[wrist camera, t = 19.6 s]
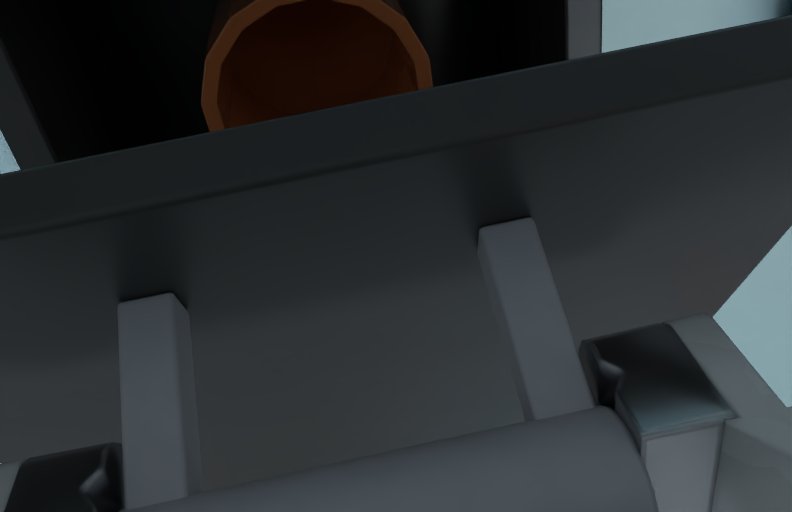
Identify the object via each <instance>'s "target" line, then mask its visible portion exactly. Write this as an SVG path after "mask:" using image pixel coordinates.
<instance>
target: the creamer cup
mask: <svg viewBox="0 0 792 512" xmlns="http://www.w3.org/2000/svg"><path fill="white" fill-rule="evenodd" d="M432 87H433V80H432V72H431V65H430V58H429V55H428V53H427V51H426V50H425V48H424V46H423V44H422V42H421V40H420V39H419V37H418V35H417V33H416V31H415V30H414V28H413V26H412V24H411V22H410V20H409V19H408V17H407V15H406V13H405V11H404V9H403V8H402V6H401V4H400V2H399V0H216V3H215V7H214V13H213V18H212V23H211V29H210V34H209V40H208V45H207V51H206V56H205V63H204V72H203V81H202V91H201V100H200V102H201V107H202V110H203V113H204V116H205V119H206V123H207V126H208V129H209V132H213V131H218V130H223V129H228V128H233V127H238V126H243V125H248V124H253V123H258V122H263V121H267V120H272V119H277V118H282V117H287V116H292V115H297V114H302V113H307V112H312V111H317V110H322V109H327V108H332V107H337V106H342V105H347V104H352V103H357V102H362V101H367V100H372V99H377V98H382V97H387V96H392V95H397V94H402V93H407V92H412V91H417V90H422V89H427V88H432Z"/></svg>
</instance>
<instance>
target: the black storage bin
mask: <svg viewBox="0 0 792 512" xmlns="http://www.w3.org/2000/svg"><path fill="white" fill-rule="evenodd" d="M399 2H400V4H401V6H402V8H403V9H404V11H405V13H406V15H407V17H408V19H409V20H410V22H411V24H412V26H413V28H414V30H415V31H416V33H417V35H418V37H419V39H420V40H421V42H422V44H423V46H424V48H425V50H426V51H427V53H428V55H429V58H430V65H431V72H432V80H433V87H436V86H441V85H446V84H451V83H456V82H461V81H466V80H471V79H476V78H481V77H486V76H491V75H496V74H501V73H506V72H511V71H516V70H521V69H526V68H531V67H536V66H541V65H546V64H551V63H556V62H561V61H566V60H571V59H576V58H581V57H586V56H591V55H596V54H601V53H602V0H399ZM215 3H216V0H0V130H1V131H2V133H3V135H4V137H5V139H6V141H7V143H8V145H9V147H10V149H11V151H12V153H13V155H14V157H15V159H16V161H17V163H18V165H19V167H20V169H21V170H24V169H29V168H34V167H39V166H44V165H49V164H54V163H59V162H64V161H69V160H74V159H79V158H84V157H89V156H94V155H98V154H103V153H108V152H113V151H118V150H123V149H128V148H133V147H138V146H143V145H148V144H153V143H158V142H163V141H168V140H173V139H178V138H183V137H188V136H193V135H198V134H203V133H208V132H209V129H208V126H207V123H206V119H205V116H204V113H203V110H202V107H201V102H200V100H201V91H202V81H203V72H204V63H205V56H206V51H207V45H208V40H209V34H210V29H211V23H212V18H213V13H214V7H215Z"/></svg>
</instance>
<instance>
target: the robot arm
mask: <svg viewBox="0 0 792 512" xmlns="http://www.w3.org/2000/svg"><path fill="white" fill-rule="evenodd" d="M579 357H580V360H581V363H582V366H583V369H584V372H585V375H586V378H587V381H588V384H589V387H590V390H591V393H592V396H593V399H594V402H595V405H596V406H597V405H601V406H606V407H610V408H611V409H613V410H614V411H615V412H616V413H617V414H618V416H619V417H620V418H621V419H622V421H623V422H624V424H625V425H626V427H627V429H628V430H629V432H630V434H631V436H632V438H633V440H634V442H635V444H636V446H637V448H638V450H639V453H640V455H641V457H642V459H643V461H644V463H645V466H646V469H647V471H648V474H649V477H650V480H651V483H652V487H653V490H654V493H655V497H656V501H657V505H658V510H659V512H792V407H786V406H785V405H784V404H783V402H782V401H781V400H780V399H779V398H778V396H777V395H776V394H775V393H774V391H773V390H772V389H771V388H770V387H769V385H768V384H767V383H766V382H765V381H764V379H763V378H762V377H761V376H760V375H759V373H758V372H757V371H756V370H755V368H754V367H753V366H752V365H751V364H750V362H749V361H748V360H747V359H746V358H745V356H744V355H743V354H742V353H741V352H740V350H739V349H738V348H737V347H736V345H735V344H734V343H733V342H732V341H731V339H730V338H729V337H728V336H727V335H726V333H725V332H724V331H723V330H722V329H721V327H720V326H719V325H718V324H717V322H716V321H715V320H714V319H713V318H712V317H711V316H709V315H707V314H705V313H699V314H694V315H690V316H686V317H681V318H677V319H673V320H668V321H664V322H662V323H656V324H652V325H647V326H643V327H638V328H634V329H630V330H625V331H621V332H616V333H612V334H607V335H603V336H598V337H594V338H590V339H585V340H581V343H580V347H579ZM123 509H124V480H123V451H122V444H121V443H115V442H110V443H105V444H99V445H94V446H89V447H84V448H79V449H73V450H68V451H63V452H58V453H52V454H47V455H42V456H37V457H31V458H28V459H26V460H21V461H16V462H10V463H5V464H0V512H119V511H121V510H123Z"/></svg>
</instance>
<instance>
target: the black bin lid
mask: <svg viewBox="0 0 792 512" xmlns="http://www.w3.org/2000/svg"><path fill="white" fill-rule="evenodd" d="M791 226H792V15H789V16H784V17H779V18H775V19H770V20H765V21H760V22H755V23H750V24H745V25H740V26H735V27H730V28H725V29H720V30H715V31H710V32H705V33H700V34H695V35H690V36H685V37H680V38H675V39H670V40H665V41H660V42H655V43H650V44H645V45H640V46H635V47H630V48H625V49H620V50H615V51H610V52H606V53H601V54H596V55H591V56H586V57H581V58H576V59H571V60H566V61H561V62H556V63H551V64H546V65H541V66H536V67H531V68H526V69H521V70H516V71H511V72H506V73H501V74H496V75H491V76H486V77H481V78H476V79H471V80H466V81H461V82H456V83H451V84H446V85H441V86H436V87H432V88H427V89H422V90H417V91H412V92H407V93H402V94H397V95H392V96H387V97H382V98H377V99H372V100H367V101H362V102H357V103H352V104H347V105H342V106H337V107H332V108H327V109H322V110H317V111H312V112H307V113H302V114H297V115H292V116H287V117H282V118H277V119H272V120H267V121H263V122H258V123H253V124H248V125H243V126H238V127H233V128H228V129H223V130H218V131H213V132H208V133H203V134H198V135H193V136H188V137H183V138H178V139H173V140H168V141H163V142H158V143H153V144H148V145H143V146H138V147H133V148H128V149H123V150H118V151H113V152H108V153H103V154H98V155H94V156H89V157H84V158H79V159H74V160H69V161H64V162H59V163H54V164H49V165H44V166H39V167H34V168H29V169H24V170H19V171H14V172H9V173H4V174H0V463H2V464H5V463H10V462H16V461H21V460H26V459H28V458H31V457H37V456H42V455H47V454H52V453H58V452H63V451H68V450H73V449H79V448H84V447H89V446H94V445H99V444H105V443H110V442H115V443H121V444H122V451H123V480H124V509H123V510H121V511H119V512H659V510H658V505H657V501H656V497H655V493H654V490H653V487H652V483H651V480H650V477H649V474H648V471H647V469H646V466H645V463H644V461H643V459H642V457H641V455H640V453H639V450H638V448H637V446H636V444H635V442H634V440H633V438H632V436H631V434H630V432H629V430H628V429H627V427H626V425H625V424H624V422H623V421H622V419H621V418H620V417H619V416H618V414H617V413H616V412H615V411H614V410H613V409H611V408H610V407H606V406H601V405H597V406H596V405H595V402H594V399H593V396H592V393H591V390H590V387H589V384H588V381H587V378H586V375H585V372H584V369H583V366H582V363H581V360H580V357H579V347H580V343H581V340H585V339H590V338H594V337H598V336H603V335H607V334H612V333H616V332H621V331H625V330H630V329H634V328H638V327H643V326H647V325H652V324H656V323H662V322H664V321H668V320H673V319H677V318H681V317H686V316H690V315H694V314H699V313H705V314H707V315H709V316H711V317H713V316H714V315H715V314H716V312H717V311H718V310H719V309H720V308H721V307H722V305H723V304H724V303H725V302H726V301H727V300H728V299H729V297H730V296H731V295H732V294H733V293H734V292H735V290H736V289H737V288H738V287H739V286H740V285H741V283H742V282H743V281H744V280H745V279H746V278H747V277H748V275H749V274H750V273H751V272H752V271H753V270H754V268H755V267H756V266H757V265H758V264H759V263H760V261H761V260H762V259H763V258H764V257H765V256H766V255H767V253H768V252H769V251H770V250H771V249H772V248H773V246H774V245H775V244H776V243H777V242H778V241H779V239H780V238H781V237H782V236H783V235H784V234H785V233H786V231H787V230H788V229H789V228H790V227H791Z"/></svg>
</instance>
